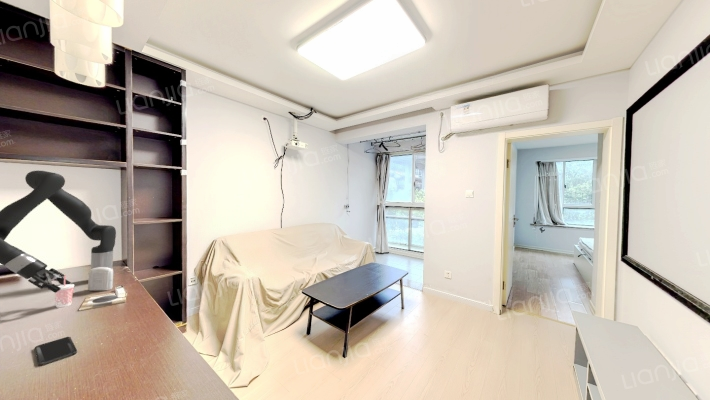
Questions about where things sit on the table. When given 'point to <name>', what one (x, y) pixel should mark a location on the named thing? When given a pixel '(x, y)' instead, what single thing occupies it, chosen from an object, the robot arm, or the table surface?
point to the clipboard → (102, 301)
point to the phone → (55, 351)
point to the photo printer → (100, 278)
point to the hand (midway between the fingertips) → (63, 287)
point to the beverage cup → (64, 295)
